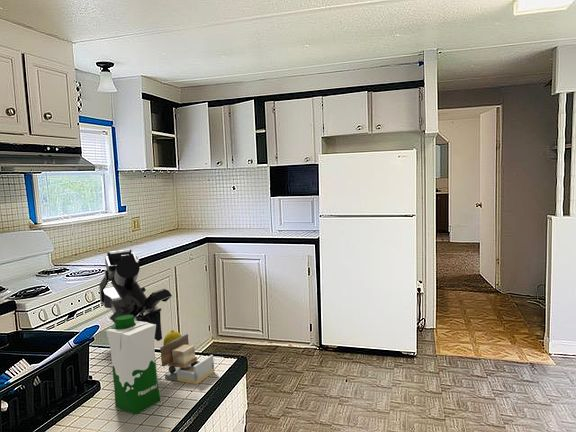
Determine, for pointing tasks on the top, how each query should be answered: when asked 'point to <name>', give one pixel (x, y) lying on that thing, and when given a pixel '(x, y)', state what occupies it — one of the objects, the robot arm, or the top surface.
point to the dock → (194, 371)
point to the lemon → (171, 337)
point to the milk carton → (133, 364)
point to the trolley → (178, 354)
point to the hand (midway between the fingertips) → (160, 339)
